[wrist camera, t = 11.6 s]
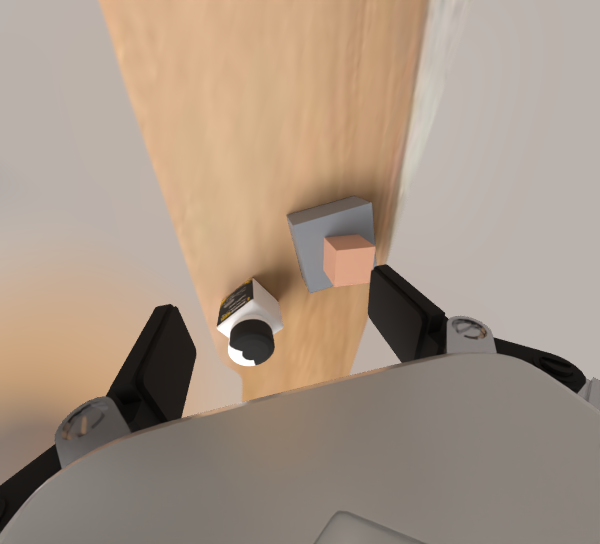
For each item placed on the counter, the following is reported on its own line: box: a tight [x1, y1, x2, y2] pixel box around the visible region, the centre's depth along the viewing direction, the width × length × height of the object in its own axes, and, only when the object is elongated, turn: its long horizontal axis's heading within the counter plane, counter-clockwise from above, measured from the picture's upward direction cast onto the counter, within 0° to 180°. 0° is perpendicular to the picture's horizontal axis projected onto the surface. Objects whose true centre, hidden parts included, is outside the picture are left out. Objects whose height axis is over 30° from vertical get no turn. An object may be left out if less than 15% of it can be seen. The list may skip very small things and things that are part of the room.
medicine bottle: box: [217, 278, 283, 366], centre depth 35 cm, size 7×7×12 cm
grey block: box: [286, 196, 376, 293], centre depth 35 cm, size 11×11×6 cm
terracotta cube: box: [323, 234, 376, 287], centre depth 31 cm, size 5×5×5 cm
